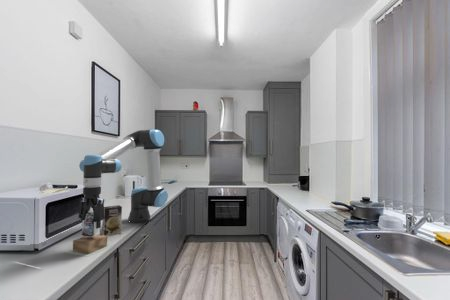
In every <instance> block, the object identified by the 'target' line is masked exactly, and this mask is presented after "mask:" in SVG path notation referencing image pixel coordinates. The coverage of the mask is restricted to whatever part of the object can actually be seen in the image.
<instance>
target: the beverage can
mask: <svg viewBox="0 0 450 300" xmlns="http://www.w3.org/2000/svg"><path fill="white" fill-rule="evenodd" d="M94 221H95V217H94V213H93V210H90V211H88V213H87V214H86V217H85V221H84V226H83V231H82V230H81V235H82V237H93V236H94Z"/></svg>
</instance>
